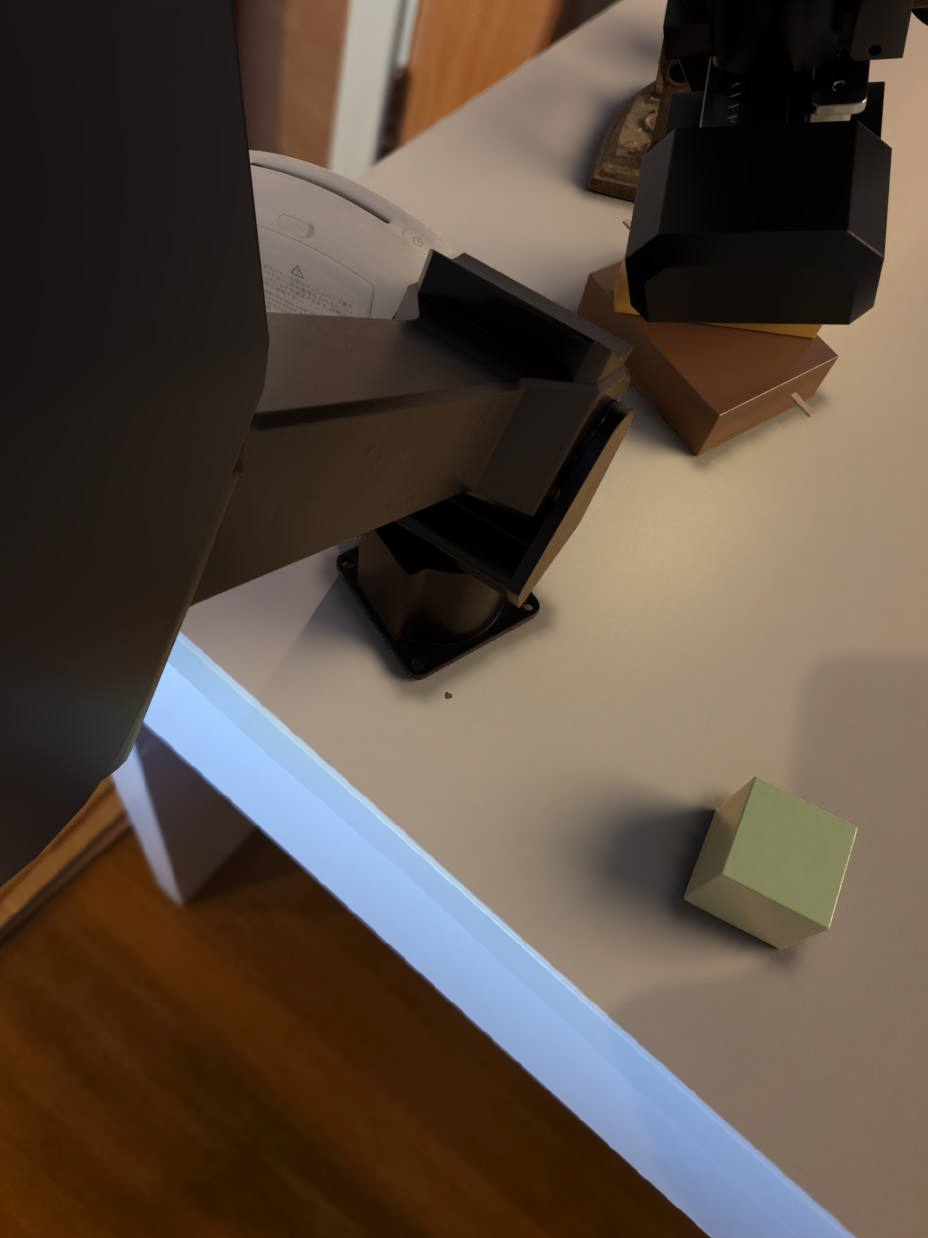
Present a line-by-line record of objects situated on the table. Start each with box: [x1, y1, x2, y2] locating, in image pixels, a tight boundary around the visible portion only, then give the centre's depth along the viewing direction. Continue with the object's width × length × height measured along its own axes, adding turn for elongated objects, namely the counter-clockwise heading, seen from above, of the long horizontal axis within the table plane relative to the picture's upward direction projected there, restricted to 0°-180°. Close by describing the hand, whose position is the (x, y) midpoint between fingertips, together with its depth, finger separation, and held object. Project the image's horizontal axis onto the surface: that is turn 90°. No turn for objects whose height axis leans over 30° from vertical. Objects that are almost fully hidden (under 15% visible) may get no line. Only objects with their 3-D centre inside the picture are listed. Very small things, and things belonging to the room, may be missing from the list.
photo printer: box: [249, 149, 457, 319], centre depth 40 cm, size 10×4×12 cm, turn 64°
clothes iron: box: [589, 37, 691, 202], centre depth 55 cm, size 7×11×10 cm, turn 171°
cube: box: [683, 776, 859, 950], centre depth 36 cm, size 4×4×4 cm
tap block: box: [575, 218, 839, 457], centre depth 49 cm, size 14×14×3 cm
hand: (767, 234), depth 35 cm, fingers closed
